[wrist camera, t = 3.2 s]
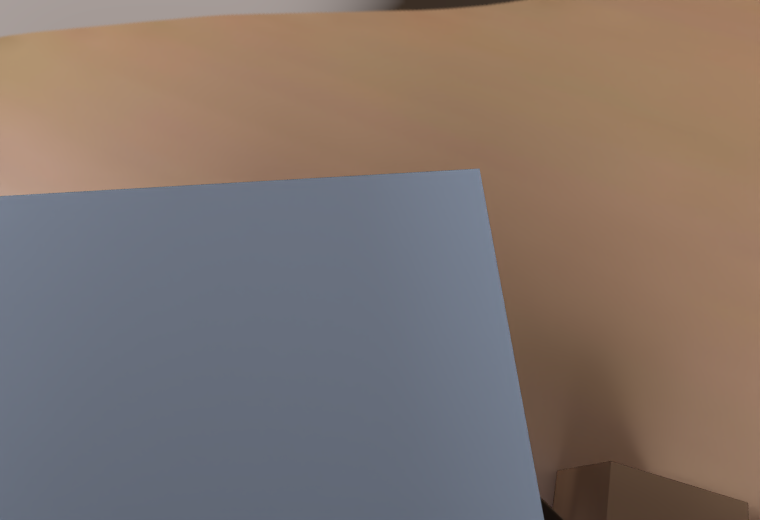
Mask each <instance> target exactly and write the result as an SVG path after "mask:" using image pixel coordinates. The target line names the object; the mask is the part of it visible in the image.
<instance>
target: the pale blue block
mask: <svg viewBox="0 0 760 520" xmlns="http://www.w3.org/2000/svg"><path fill="white" fill-rule="evenodd" d="M0 520H544V516H543V511H542V505H541V500H540V494H539V489H538V483H537V478H536V473H535V467H534V462H533V456H532V451H531V446H530V440H529V435H528V429H527V424H526V418H525V413H524V408H523V402H522V397H521V391H520V386H519V380H518V375H517V370H516V364H515V359H514V353H513V348H512V343H511V337H510V332H509V326H508V321H507V315H506V310H505V305H504V299H503V294H502V288H501V283H500V278H499V272H498V267H497V261H496V256H495V250H494V245H493V240H492V234H491V229H490V223H489V218H488V213H487V207H486V202H485V196H484V191H483V185H482V180H481V175H480V169H465V170H448V171H430V172H413V173H396V174H378V175H361V176H344V177H326V178H309V179H292V180H274V181H257V182H239V183H222V184H205V185H187V186H170V187H153V188H135V189H118V190H101V191H83V192H66V193H49V194H31V195H14V196H0Z"/></svg>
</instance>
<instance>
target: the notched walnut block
mask: <svg viewBox="0 0 760 520" xmlns="http://www.w3.org/2000/svg"><path fill="white" fill-rule="evenodd" d="M553 510H555V511H556V512H557V513H558V514H559V515H560V516H561V517H562V518H563V519H564V520H749V512H748V503H747V502H744V501H741V500H737V499H734V498H731V497H727V496H724V495H721V494H718V493H714V492H711V491H708V490H704V489H701V488H698V487H695V486H691V485H688V484H685V483H681V482H678V481H675V480H671V479H668V478H665V477H662V476H658V475H655V474H652V473H648V472H645V471H642V470H639V469H635V468H632V467H629V466H625V465H622V464H619V463H616V462H612V461H609V462H603V463H598V464H592V465H586V466H580V467H575V468H569V469H563V470H557V478H556V486H555V494H554V502H553Z"/></svg>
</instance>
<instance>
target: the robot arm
mask: <svg viewBox="0 0 760 520" xmlns="http://www.w3.org/2000/svg"><path fill="white" fill-rule="evenodd" d="M540 500H541V505H542V511H543V516H544V520H564V519H563V518H562V517H561V516H560V515H559V514H558V513H557V512H556V511H555V510H553V509H552V508H551V507H550V506H549V505H548V504H547V503H546V502H545V501H544V500H543V499H542V498H541V497H540Z"/></svg>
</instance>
